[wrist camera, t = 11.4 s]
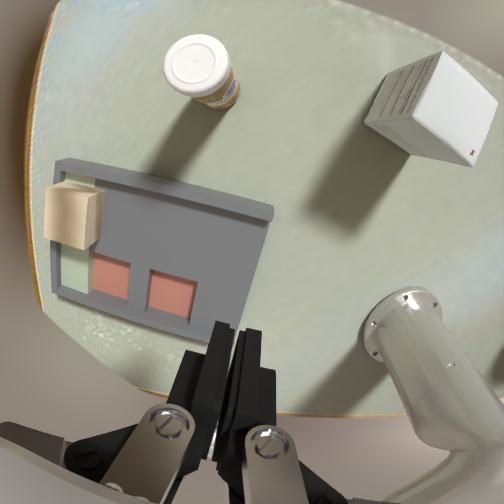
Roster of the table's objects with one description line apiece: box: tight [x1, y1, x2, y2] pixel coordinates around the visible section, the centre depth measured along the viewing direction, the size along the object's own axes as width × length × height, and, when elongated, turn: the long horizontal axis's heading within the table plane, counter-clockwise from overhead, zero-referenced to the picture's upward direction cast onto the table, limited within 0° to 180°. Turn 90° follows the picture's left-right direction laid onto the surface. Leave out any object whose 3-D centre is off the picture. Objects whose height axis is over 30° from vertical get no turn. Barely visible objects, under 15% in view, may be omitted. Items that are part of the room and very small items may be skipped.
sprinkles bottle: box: [163, 34, 240, 110], centre depth 23 cm, size 5×5×13 cm
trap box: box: [50, 158, 274, 348], centre depth 35 cm, size 26×18×3 cm
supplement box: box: [364, 51, 498, 167], centre depth 24 cm, size 7×7×13 cm
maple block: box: [44, 181, 105, 250], centre depth 31 cm, size 6×6×4 cm
